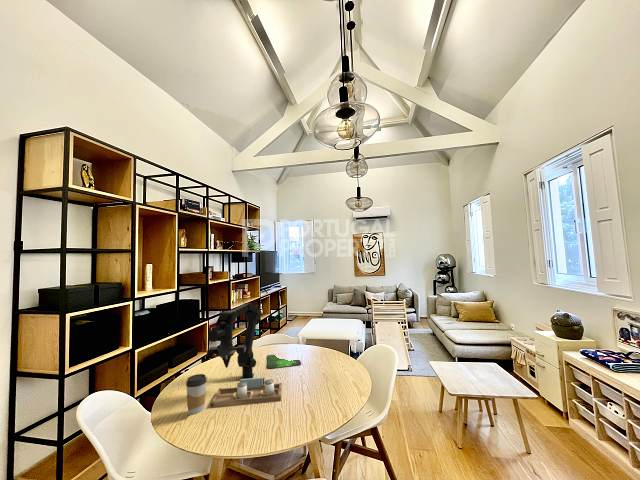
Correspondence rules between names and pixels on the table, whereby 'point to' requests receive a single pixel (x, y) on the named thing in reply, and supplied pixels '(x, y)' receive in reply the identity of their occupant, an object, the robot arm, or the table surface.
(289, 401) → the table surface
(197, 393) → the coffee cup
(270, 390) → the grey pin
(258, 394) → the tray
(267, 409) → the table surface
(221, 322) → the robot arm
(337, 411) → the table surface
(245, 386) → the pin
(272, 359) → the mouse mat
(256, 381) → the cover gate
